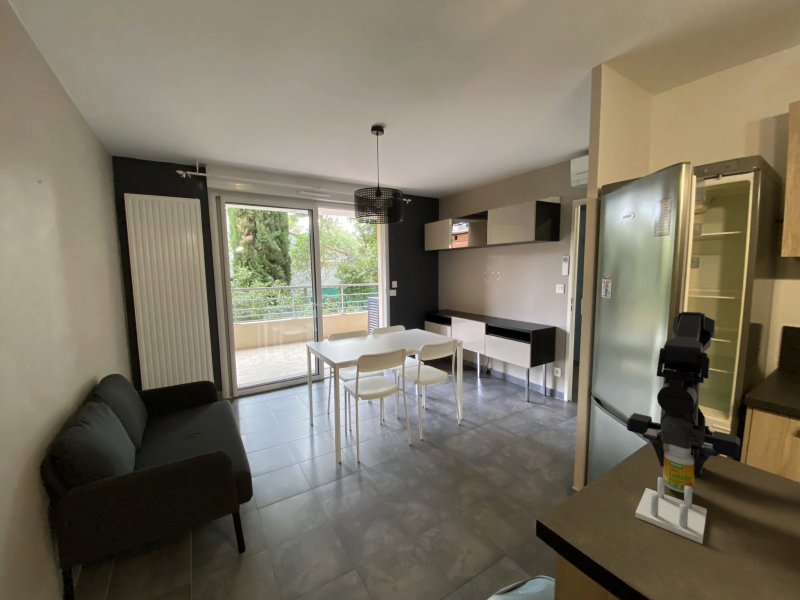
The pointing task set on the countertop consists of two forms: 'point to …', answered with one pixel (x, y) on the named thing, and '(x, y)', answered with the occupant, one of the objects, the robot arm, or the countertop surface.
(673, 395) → the robot arm
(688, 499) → the pin tray
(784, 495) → the countertop surface
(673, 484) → the supplement bottle
